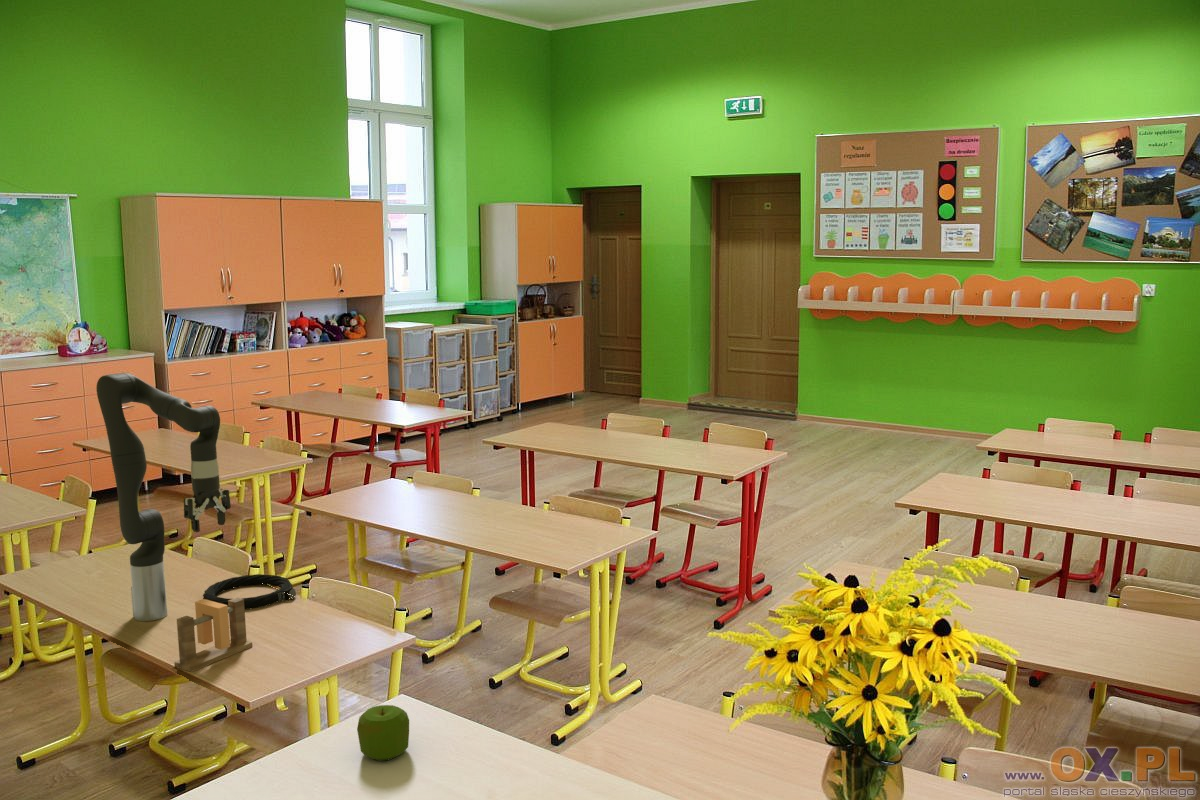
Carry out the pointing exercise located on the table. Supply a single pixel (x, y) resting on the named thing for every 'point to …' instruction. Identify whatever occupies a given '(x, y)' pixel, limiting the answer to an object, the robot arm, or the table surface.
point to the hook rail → (210, 655)
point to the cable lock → (253, 580)
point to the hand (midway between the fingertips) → (208, 528)
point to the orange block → (219, 623)
